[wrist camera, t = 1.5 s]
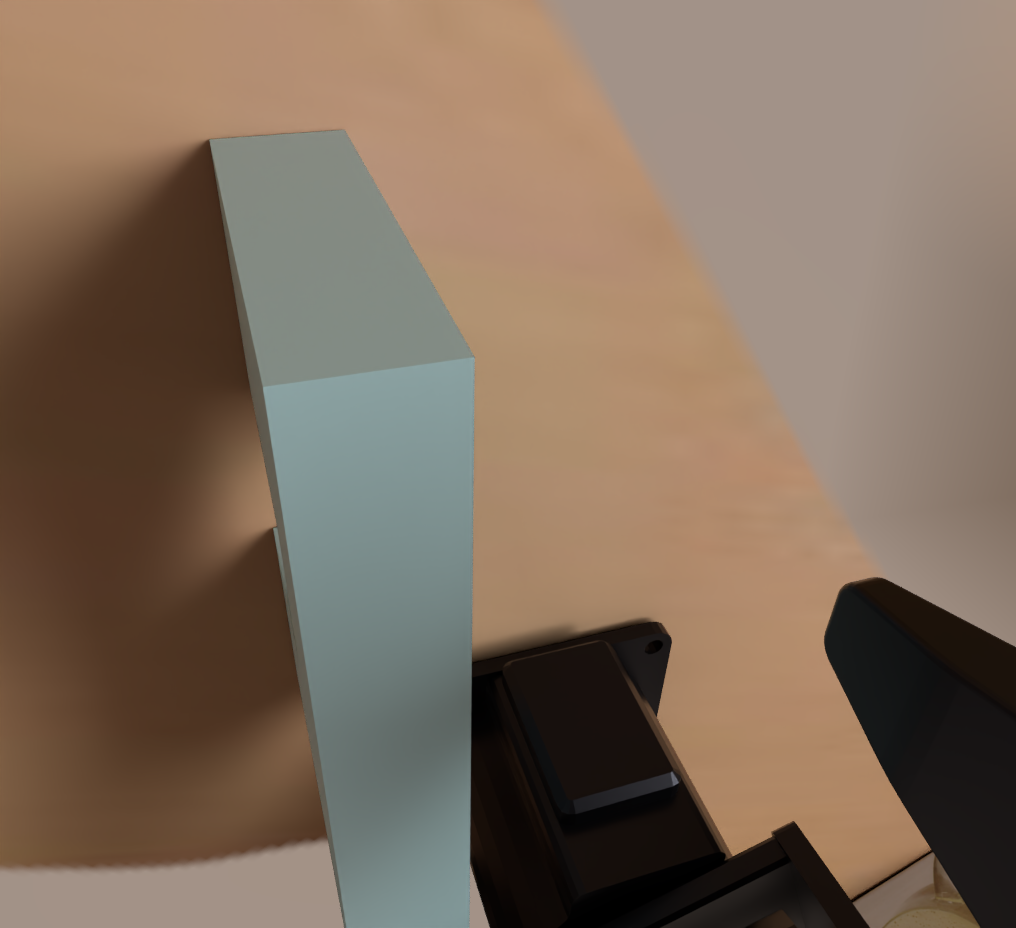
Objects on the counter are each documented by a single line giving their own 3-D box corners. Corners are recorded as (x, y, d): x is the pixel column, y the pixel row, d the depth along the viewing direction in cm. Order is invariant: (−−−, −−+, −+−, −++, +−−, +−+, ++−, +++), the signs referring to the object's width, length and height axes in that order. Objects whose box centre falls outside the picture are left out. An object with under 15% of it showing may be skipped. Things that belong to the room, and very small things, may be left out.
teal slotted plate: (384, 654, 21) (469, 950, 16) (297, 674, 21) (355, 987, 16) (344, 129, 14) (474, 357, 9) (209, 139, 14) (263, 386, 8)
